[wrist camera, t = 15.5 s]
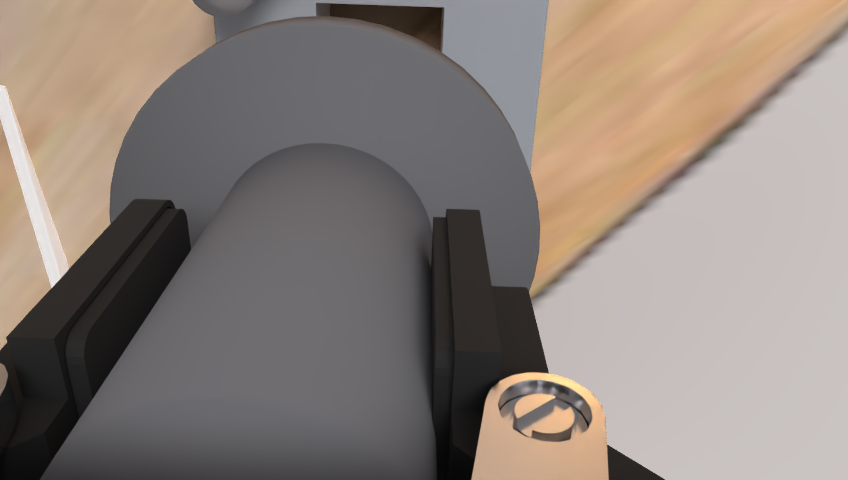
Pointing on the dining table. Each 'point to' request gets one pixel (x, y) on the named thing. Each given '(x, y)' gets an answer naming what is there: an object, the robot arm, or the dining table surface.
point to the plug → (301, 257)
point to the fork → (33, 193)
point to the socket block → (455, 45)
